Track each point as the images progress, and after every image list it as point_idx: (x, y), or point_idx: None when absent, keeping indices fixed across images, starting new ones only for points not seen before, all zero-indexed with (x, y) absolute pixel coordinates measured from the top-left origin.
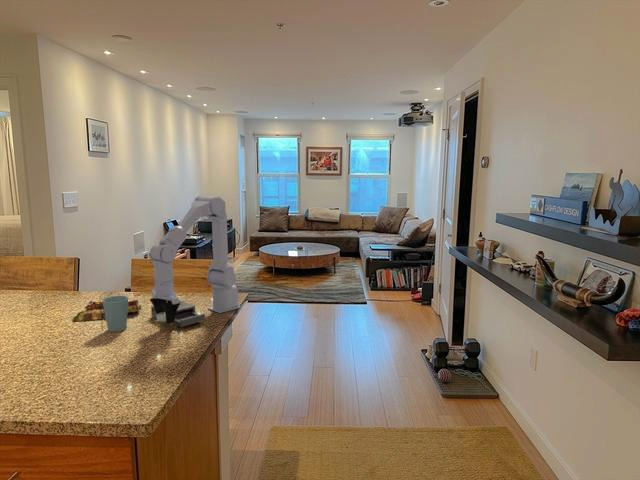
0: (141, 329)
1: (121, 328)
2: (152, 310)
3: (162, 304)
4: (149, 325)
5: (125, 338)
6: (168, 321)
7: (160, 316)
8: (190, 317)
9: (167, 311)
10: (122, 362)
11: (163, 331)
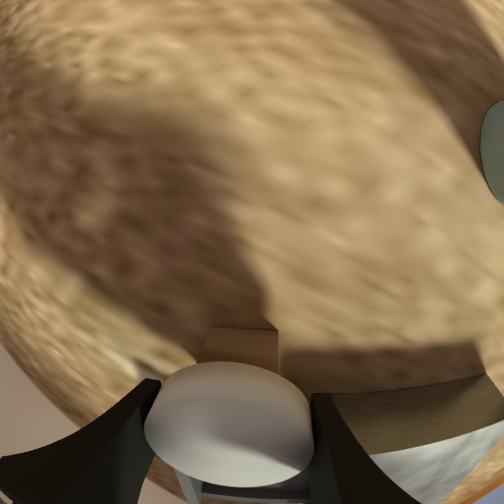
0: (408, 253)
1: (488, 147)
2: (497, 403)
3: (16, 493)
4: (421, 325)
5: (327, 76)
6: (135, 391)
7: (190, 406)
8: (185, 477)
9: (58, 445)
10: (29, 8)
11: (222, 330)
